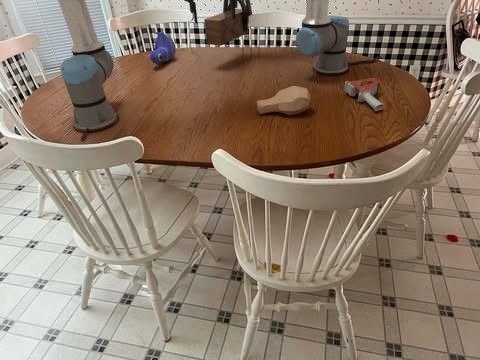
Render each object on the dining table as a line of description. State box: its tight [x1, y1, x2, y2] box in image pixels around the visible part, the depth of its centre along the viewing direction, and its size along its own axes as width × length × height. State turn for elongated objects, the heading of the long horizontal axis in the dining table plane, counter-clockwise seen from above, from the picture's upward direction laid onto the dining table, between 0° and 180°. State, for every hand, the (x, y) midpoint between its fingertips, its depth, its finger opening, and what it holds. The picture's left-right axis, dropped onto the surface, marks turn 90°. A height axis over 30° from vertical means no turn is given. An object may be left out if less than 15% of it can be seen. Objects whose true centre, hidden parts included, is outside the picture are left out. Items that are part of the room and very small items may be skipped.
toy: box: [148, 31, 177, 69], centre depth 182 cm, size 10×17×25 cm
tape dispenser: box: [343, 77, 384, 112], centre depth 136 cm, size 18×5×20 cm
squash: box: [255, 85, 312, 116], centre depth 130 cm, size 11×20×9 cm, turn 92°
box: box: [203, 8, 249, 47], centre depth 171 cm, size 24×8×11 cm, turn 147°
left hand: (215, 20), depth 126 cm, fingers open, 13 cm apart
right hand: (238, 29), depth 179 cm, fingers closed on box, 8 cm apart
